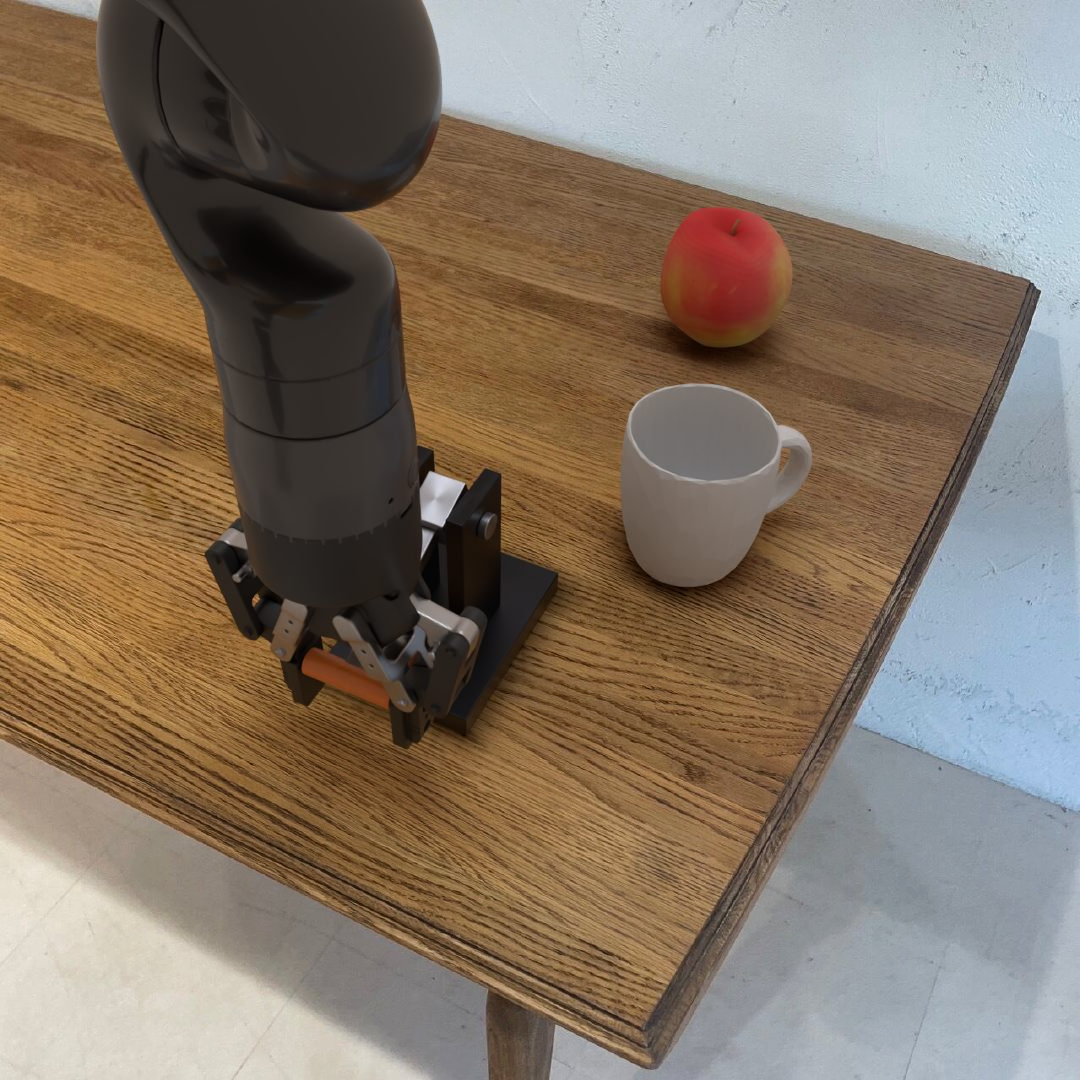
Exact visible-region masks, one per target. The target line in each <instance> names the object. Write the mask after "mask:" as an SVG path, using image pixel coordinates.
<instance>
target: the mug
mask: <svg viewBox="0 0 1080 1080" xmlns="http://www.w3.org/2000/svg"><path fill="white" fill-rule="evenodd" d="M783 449H789V451H790V452H789V455H788V458H787V461H786V463H785V465H784V466H783V468H782V469H781V471H779V469H780V462H781V457H782V450H783ZM620 462H621V463H620V472H619V473H620V474H619V475H620V477H619V478H620V481H619V482H620V483H619V484H620V485H619V487H620V505H621V518H622V522H623V527H624V532H625V536H626V542H627V544H628V547H629V550H630V552H631V553H632V555H633V557H634V559H635V561H636V563H637V564H638V565H639V567H641V569H642V570H643V571H644V572H645V573H646V574H648V575H649V576H650V577H651V578H652V579H654V580H656V581H658V582H660V583H663V584H667V585H670V586H675V587H681V588H682V587H683V588H697V587H701V586H706V585H710V584H713V583H715V582H717V581H720V580H722V579H723V578H725V577H726V576H728V575H729V574H730V573H731V572H732V571H734V570H735V569H736V568H737V567H738V565H739V564H740V563H741V562H742V561H743V559H744V558H745V557H746V555H747V554H748V552H749V550H750V548H751V547H752V545H753V544H754V541H755V539H756V537H757V536H758V534H759V531H760V529H761V527H762V523H763V521H764V518H765V515H767V514H770V513H772V512H774V511H775V510H777V509H779V508H780V507H781V506H783V505H784V504H786V503H787V502H788V501H789V500H791V499H792V498H793V496H795V494H796V493H798V491H800V489H801V487H802V485H803V484H804V483H805V481H806V479H807V478H808V475H809V474H810V471H811V468H812V464H813V463H812V462H813V453H812V448H811V444H810V443H809V441H808V440H807V439H806V437H805V435H804V434H803V433H801V432H800V431H798V430H796V429H795V428H793V427H790V426H787V425H784V424H782V425H781V424H780V425H778V424H777V423H776V421H775V419H774V416H772V414H771V413H770V411H769V410H768V409H767V408H766V407H764V405H763V404H761V402H759V401H758V400H756V399H755V398H753V397H751V396H750V395H748V394H746V393H744V392H742V391H740V390H737V389H734V388H731V387H729V386H725V385H719V384H715V383H714V384H713V383H694V382H693V383H691V382H689V383H683V384H677V385H670V386H665V387H661V388H658V389H657V390H654V391H652V392H649V393H647V394H645V395H644V396H643V397H641V398H640V399H639V400H638V401H637V402H635V404H634V405H633V406H632V409H630V411H629V413H628V418H627V422H626V425H625V430H624V434H623V443H622V453H621V461H620Z"/></svg>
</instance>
